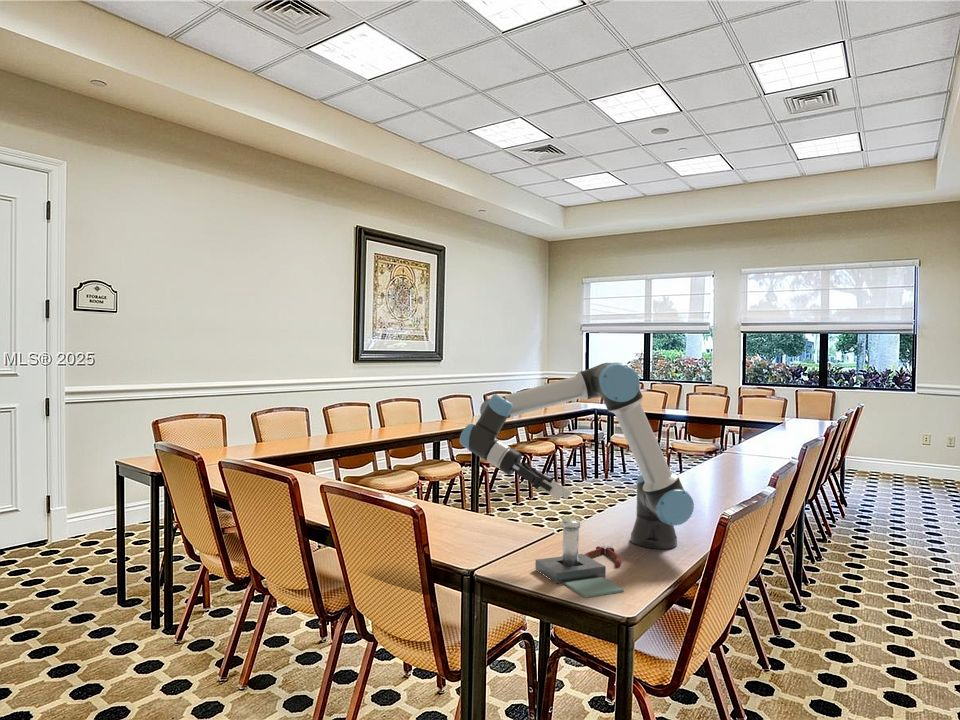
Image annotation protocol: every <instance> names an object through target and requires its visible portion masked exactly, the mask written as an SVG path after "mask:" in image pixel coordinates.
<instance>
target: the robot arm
mask: <svg viewBox="0 0 960 720" xmlns="http://www.w3.org/2000/svg"><path fill="white" fill-rule="evenodd" d="M597 398H602V400H603V402H604V405H605V407H606V410H607V411H608V412H609V413H612V414H614V415H615V417H616V420H617V422H618V424H619V426H620V428H621V431H622V433H623V435H624V438H625V440H626V442H627V444H628V446H629V449H630V451H631V453H632V455H633V458H634V461H635V462H636V464H637V466H638V467H637V468H638V469H639V472H640V474H639V475H638V477H637V479H636V480H637V482H636V517H635V518H636V519H635V521H634V525H633V527H632V530H631V533H630V542H631V543H633V544H634V545H636V546H639V547H643V548H646V549H647V548H648V549H656V550H665V549H666V550H668V549H673V548H675V547H677V546H678V536H677V532H676V531H675V530H676V529H675V527H674V526H680V525H683V524H685V523H686V522H687V521H689V519H690V518H691V517H692V515H693V512H694V510H695V503H694V500H693V497H692V495H690V493H689V492H688V491H687V490H685V489H684V486H683V485H682V483H681V480H680V477H679V475H678V474H677V473H674V472H672V471H671V469H670V467H669V465H668V463H667V460H666V458H665V455H664V454H663V452H662V449H661V447H660V445H659V444H660V443H659V442H658V440H657V438H656V436H655V433H654V431H653V428H652V426H651V424H650V421H649V420H648V417H647V415H646V413H645V411H644V408H643V406H642V404H641V403H642V400H643V398H644V397H643V394H642V391H641V389H640V378H639V374H638V373H637V372H636V370H635V369H634V368H632V367H631V366H629V365H628V364H626V363H622V362H604V363H600V364H598V365H595V366H593V367H591V368H587V369H585V370H582V371H578V372H577V373H576V374H575V376H571V377H568V378H567V377H566V378H564V379H560V380H557V381H552V382H549V383H546V384H542V385H540V386H539V385H538V386H535V387H532V388H531V387H530V388H528V389H523V390H520V391H517V392H513V393H509V394H506V395H504V396H501V395H498V394H497V393H494V394H492V396H491V398H488V399H485V400H484V401H483V402H482V403H481V406H480V412H479V413H480V416H479V419H478V420H477V422H476V423H475V424H473V423H468V424H467V425H466V426H465V428H464V429H463V430H462V431H461V434H460V435H459V443H460V445H461V446H462V447H464V449H465V448H466V450H468V451H469V452H471V453H472V454H474V455H475V456H477V457H479V458H481V459H483V460H484V461H485V462H487V463H489V466H490V467H493V466H494V467H496V468H497V469H499V471H501V472H503V473H504V474H506V475H508V476H511V475H513V473H514V472H515V473H516V474H517V476H519V477H522V478H523V479H525V480H526V481H528V482H529V483H531V484H532V485H533V486H534V489H536V490H539V489H540V490H542V491H544V492H545V493H547V494H548V495H550V496H551V497H553V498H555V499H557V500H558V501H559V500H561V498H564V499H566V500H568V498H569V497H570V495H571V493H572V491H571V490H570V489H568V488H567V487H565V486H563V485H562V484H560V483H558V482H557V481H556V480H554V479H555V478H554V477H553V476H551V477H549V476H547V475H545V474H543V473H541V472H540V471H538V470H536V469H535V467H532V466H531V465H530V464H528V463H527V462H521V460H522V458H523V454H522V453H521V452H519V451H517V450H516V449H514V448H511V446H509V445H508V444H507V443H505V442H503V441H501V440H499V439H498V438H497V436H498V435H499V432H501V429H502V428H503V426H504V424H505V423H506V421H507V420H508V419H510V418H513V417H518V416H521V415H524V414H528V413H532V412H535V411H539V410H542V409H546V408H550V407H553V406H558V405H561V404H564V403H568V402H572V401H575V400H579V399H582V400H584V401H587V400H590V399H597Z"/></svg>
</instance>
